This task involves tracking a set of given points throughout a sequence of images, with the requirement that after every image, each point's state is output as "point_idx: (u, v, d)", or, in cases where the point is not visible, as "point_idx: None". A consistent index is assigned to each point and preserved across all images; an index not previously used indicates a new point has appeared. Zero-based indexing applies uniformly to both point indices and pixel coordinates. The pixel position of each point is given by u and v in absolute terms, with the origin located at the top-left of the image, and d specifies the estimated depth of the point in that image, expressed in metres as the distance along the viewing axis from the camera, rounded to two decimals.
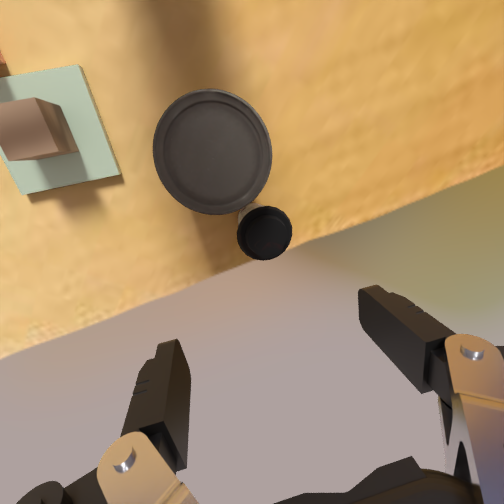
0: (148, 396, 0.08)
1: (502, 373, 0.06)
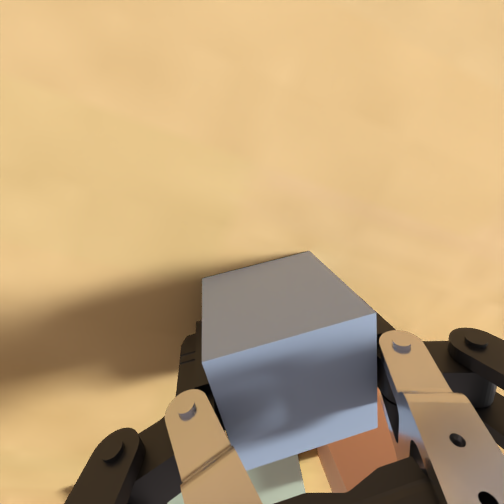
0: (197, 363, 0.09)
1: (421, 365, 0.07)
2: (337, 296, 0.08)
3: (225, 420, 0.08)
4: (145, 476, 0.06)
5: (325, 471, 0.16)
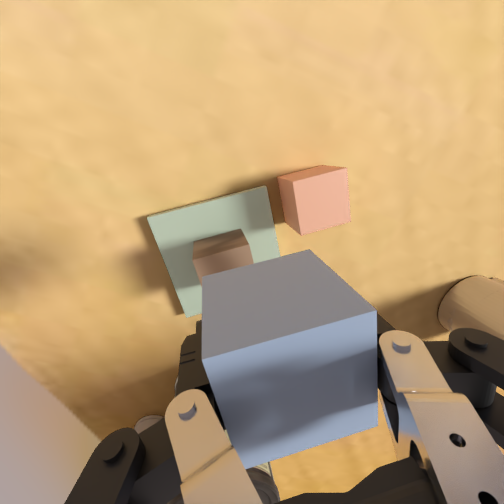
0: (197, 363, 0.09)
1: (421, 365, 0.07)
2: (337, 294, 0.08)
3: (225, 418, 0.08)
4: (145, 476, 0.06)
5: (287, 221, 0.27)
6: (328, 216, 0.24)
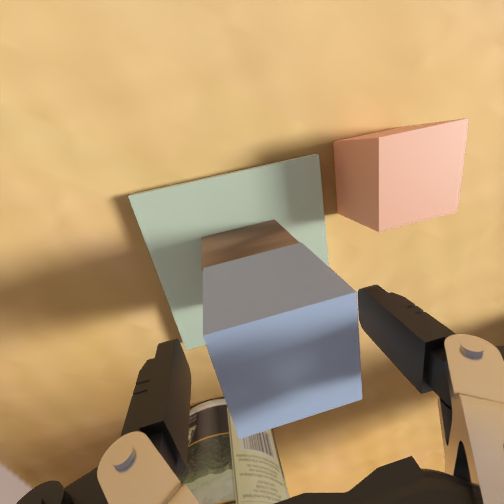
0: (148, 396, 0.08)
1: (502, 373, 0.06)
2: (323, 279, 0.09)
3: (224, 389, 0.09)
4: None
5: (345, 210, 0.18)
6: (425, 202, 0.15)
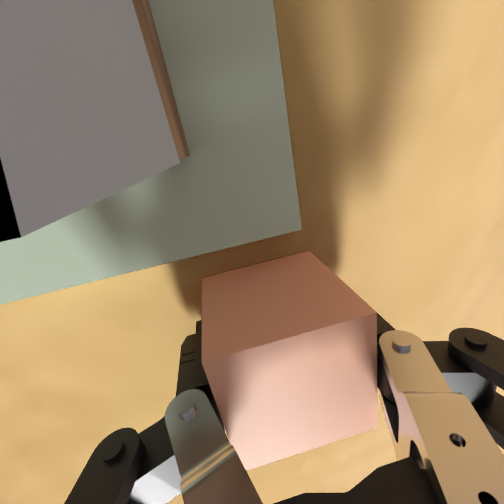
0: (197, 363, 0.09)
1: (421, 365, 0.07)
2: None
3: None
4: (145, 476, 0.06)
5: (212, 289, 0.10)
6: (260, 420, 0.08)
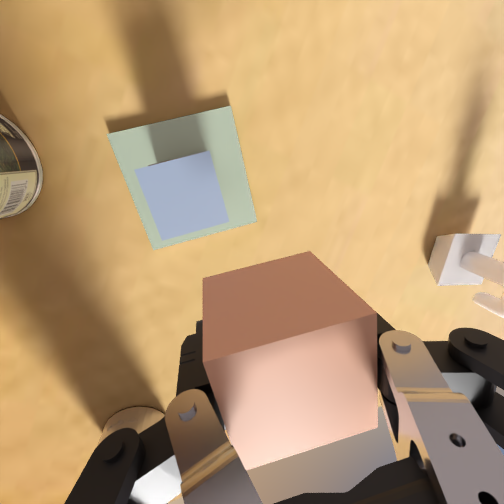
0: (197, 362, 0.09)
1: (421, 365, 0.07)
2: None
3: (174, 160, 0.17)
4: (145, 476, 0.06)
5: (213, 289, 0.10)
6: (261, 420, 0.08)
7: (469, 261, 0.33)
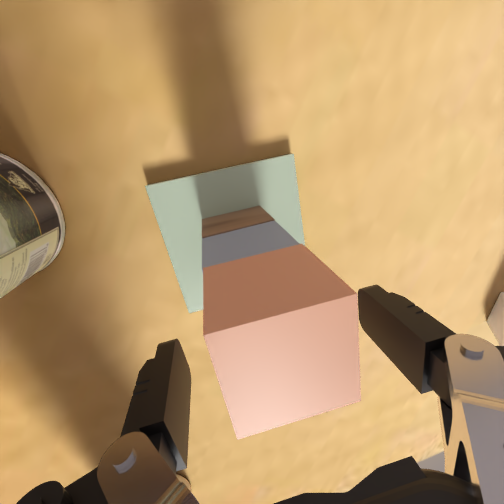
0: (148, 396, 0.08)
1: (502, 373, 0.06)
2: None
3: None
4: None
5: (213, 277, 0.11)
6: (255, 390, 0.09)
7: None
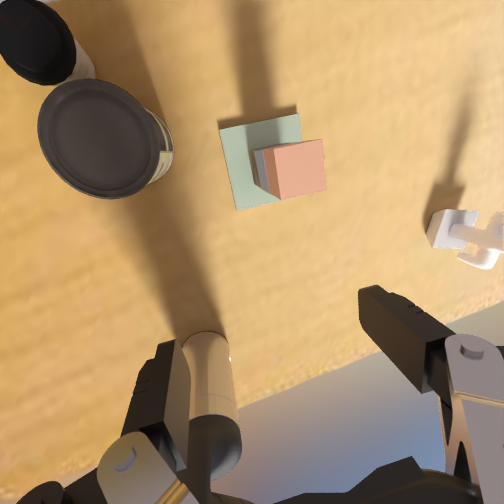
0: (148, 396, 0.08)
1: (502, 373, 0.06)
2: None
3: None
4: None
5: (268, 148, 0.28)
6: (288, 176, 0.26)
7: (455, 229, 0.46)
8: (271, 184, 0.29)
